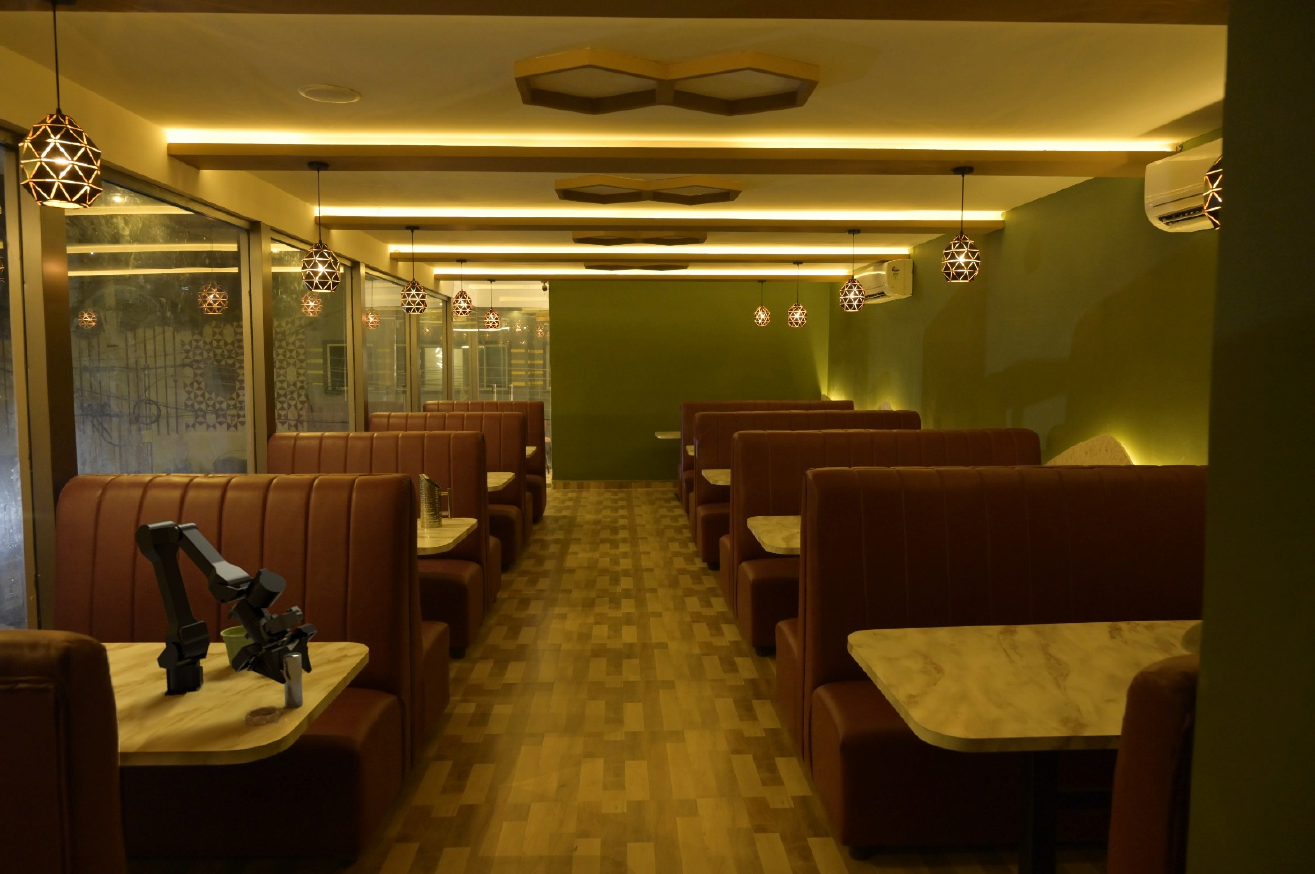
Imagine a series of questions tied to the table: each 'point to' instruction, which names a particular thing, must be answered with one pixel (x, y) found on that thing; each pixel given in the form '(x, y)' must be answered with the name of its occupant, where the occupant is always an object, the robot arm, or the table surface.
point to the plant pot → (235, 641)
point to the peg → (293, 680)
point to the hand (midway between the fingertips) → (297, 677)
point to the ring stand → (263, 716)
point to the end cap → (281, 655)
